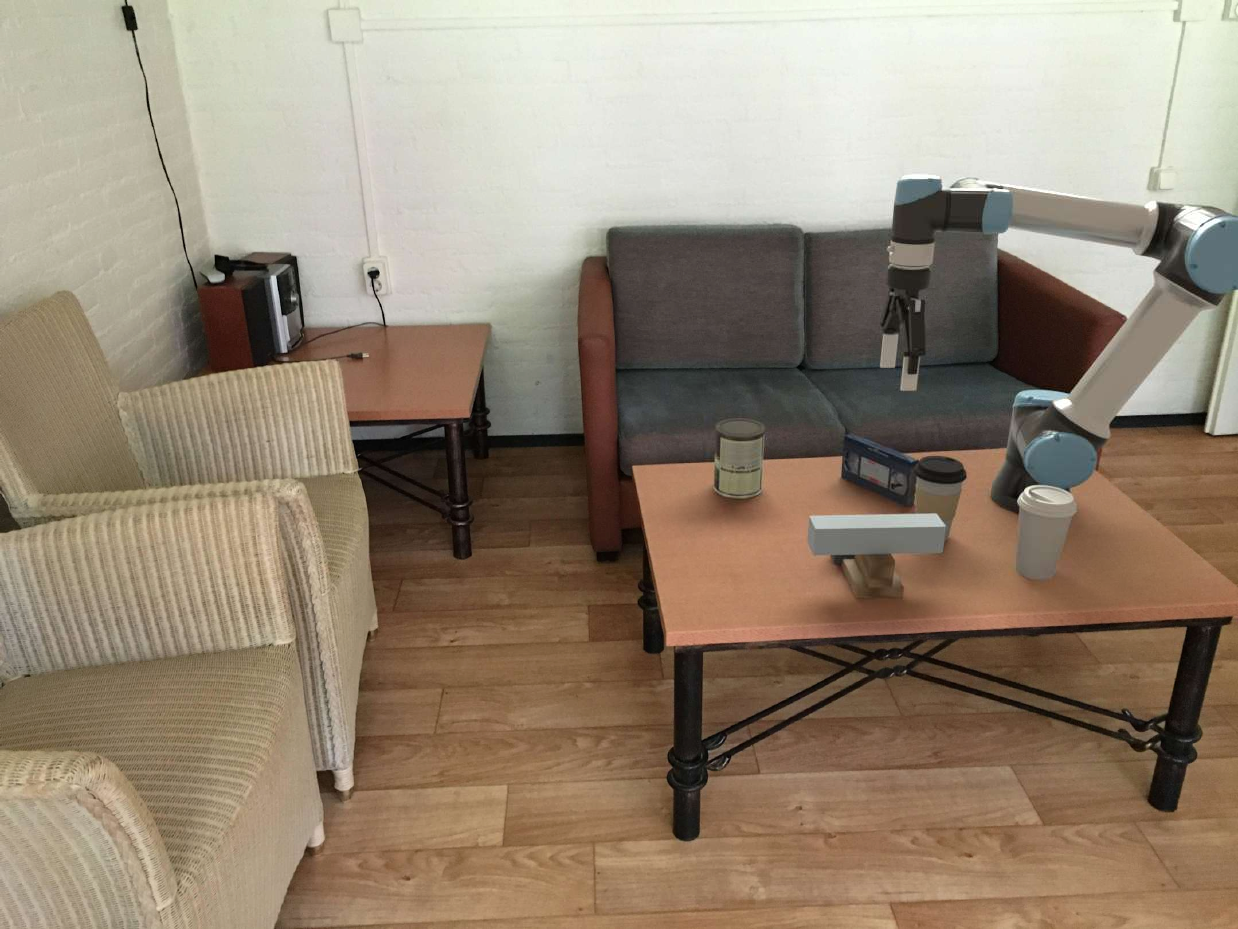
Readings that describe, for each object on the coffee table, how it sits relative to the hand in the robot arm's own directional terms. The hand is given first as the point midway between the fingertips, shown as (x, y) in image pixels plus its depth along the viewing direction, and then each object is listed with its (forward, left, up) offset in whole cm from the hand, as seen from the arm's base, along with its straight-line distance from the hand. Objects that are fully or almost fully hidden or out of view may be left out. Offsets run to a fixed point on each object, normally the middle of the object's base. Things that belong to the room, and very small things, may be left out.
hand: (897, 378), depth 183 cm
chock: (+9, +17, -29) cm, 35 cm away
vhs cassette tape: (-2, -12, -29) cm, 32 cm away
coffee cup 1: (-7, +9, -29) cm, 31 cm away
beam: (+9, +26, -22) cm, 35 cm away
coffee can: (+27, -14, -29) cm, 42 cm away
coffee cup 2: (-21, +23, -29) cm, 42 cm away
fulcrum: (+9, +26, -29) cm, 40 cm away
